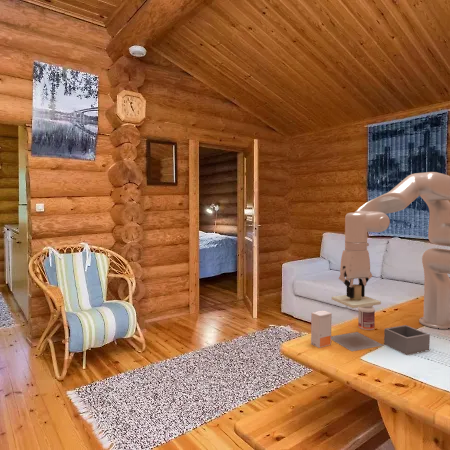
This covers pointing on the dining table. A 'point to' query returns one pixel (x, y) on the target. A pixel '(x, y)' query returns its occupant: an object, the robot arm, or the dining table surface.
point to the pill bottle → (366, 318)
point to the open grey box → (406, 339)
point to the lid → (356, 299)
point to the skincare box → (321, 328)
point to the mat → (355, 341)
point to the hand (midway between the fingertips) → (355, 296)
